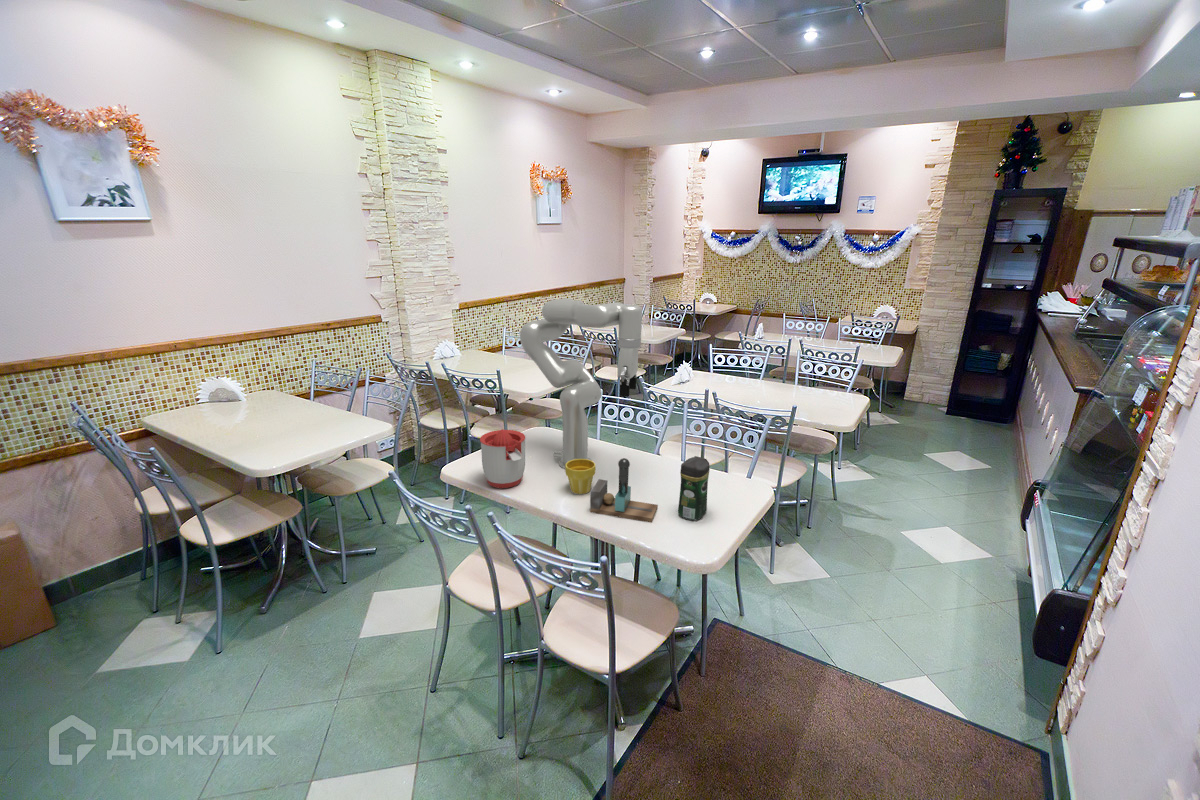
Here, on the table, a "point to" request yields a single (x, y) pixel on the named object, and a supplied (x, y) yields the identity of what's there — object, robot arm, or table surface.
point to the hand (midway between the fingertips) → (628, 392)
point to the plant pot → (580, 475)
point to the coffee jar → (693, 488)
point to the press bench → (600, 507)
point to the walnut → (608, 498)
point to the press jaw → (623, 486)
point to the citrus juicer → (503, 457)
